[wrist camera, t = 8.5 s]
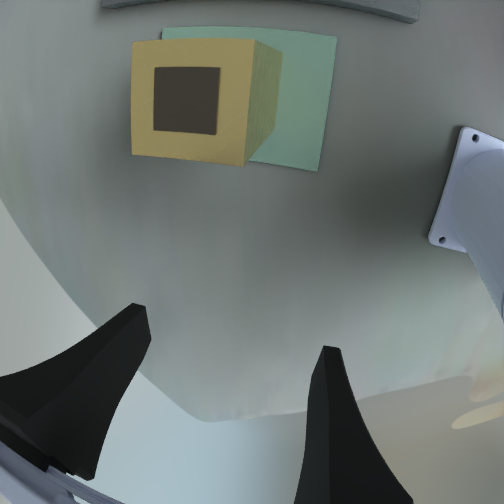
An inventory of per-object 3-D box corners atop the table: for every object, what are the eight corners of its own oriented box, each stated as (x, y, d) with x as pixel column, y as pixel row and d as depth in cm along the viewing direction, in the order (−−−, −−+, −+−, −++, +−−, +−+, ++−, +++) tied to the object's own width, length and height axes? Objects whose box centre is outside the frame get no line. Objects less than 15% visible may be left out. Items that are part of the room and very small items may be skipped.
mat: (337, 38, 14) (337, 37, 13) (317, 169, 18) (317, 171, 18) (165, 28, 15) (162, 28, 15) (161, 148, 20) (158, 150, 19)
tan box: (283, 52, 15) (254, 39, 8) (274, 129, 17) (242, 167, 11) (203, 48, 15) (131, 42, 9) (199, 120, 18) (130, 155, 11)
